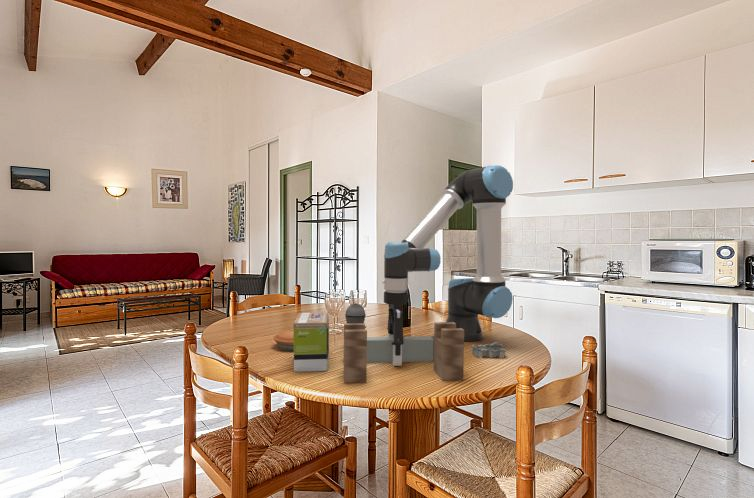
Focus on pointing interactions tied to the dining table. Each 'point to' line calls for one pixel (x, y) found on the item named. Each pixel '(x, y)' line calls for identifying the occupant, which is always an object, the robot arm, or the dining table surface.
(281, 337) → the pie
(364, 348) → the posts
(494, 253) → the robot arm
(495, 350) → the egg carton
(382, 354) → the bed rail
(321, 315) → the tea box
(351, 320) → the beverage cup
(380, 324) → the dining table surface
